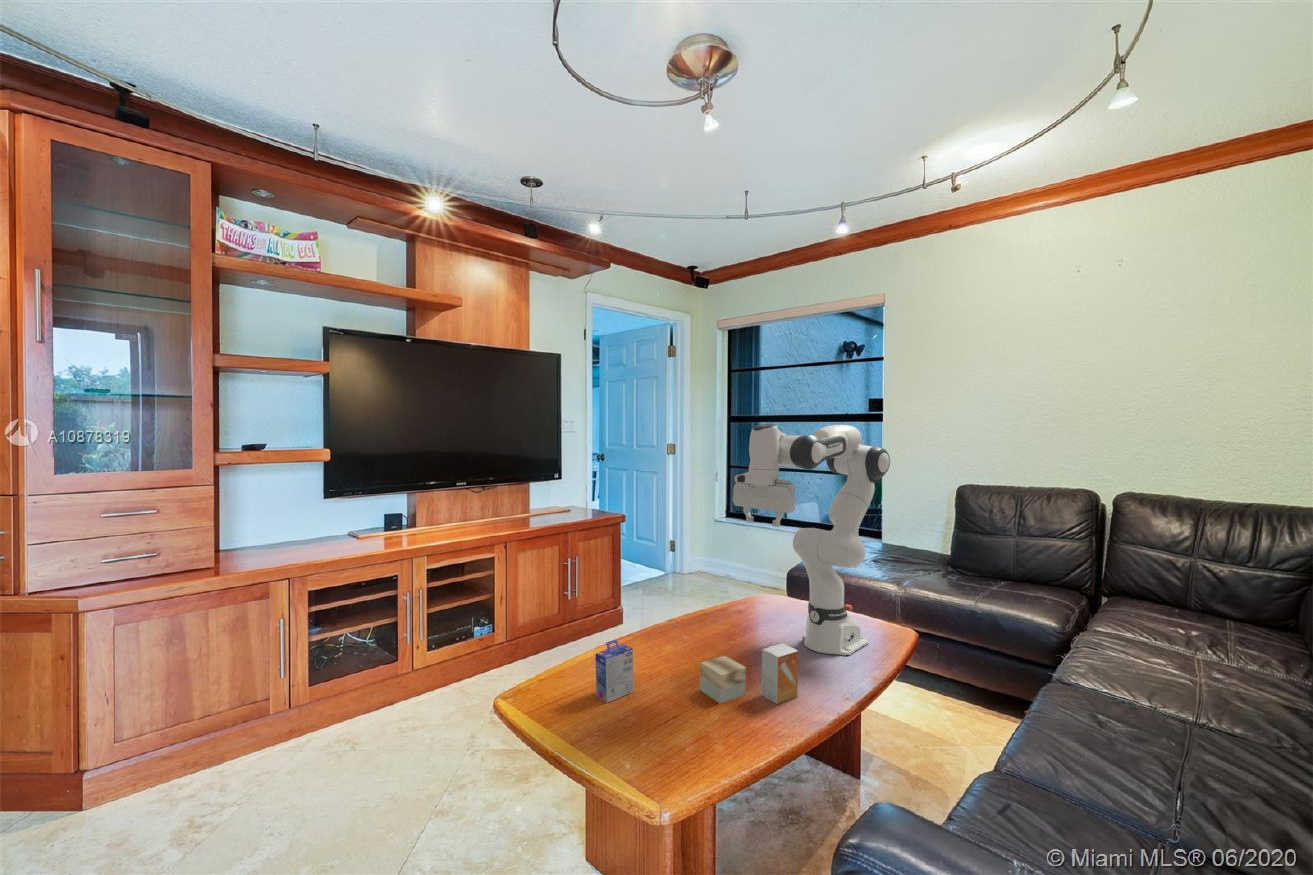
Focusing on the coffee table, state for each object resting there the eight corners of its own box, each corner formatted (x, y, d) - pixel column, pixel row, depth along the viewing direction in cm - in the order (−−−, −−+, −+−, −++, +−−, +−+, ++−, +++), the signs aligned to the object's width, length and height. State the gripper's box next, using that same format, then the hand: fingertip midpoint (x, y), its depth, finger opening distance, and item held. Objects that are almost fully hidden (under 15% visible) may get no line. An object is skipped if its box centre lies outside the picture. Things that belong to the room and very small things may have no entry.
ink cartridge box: (622, 684, 157) (622, 634, 157) (635, 692, 153) (635, 640, 152) (594, 696, 150) (594, 644, 150) (606, 704, 146) (606, 650, 146)
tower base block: (724, 682, 159) (724, 669, 159) (745, 696, 152) (745, 681, 152) (699, 691, 154) (699, 677, 154) (720, 705, 147) (720, 690, 147)
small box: (777, 705, 146) (778, 657, 146) (760, 695, 152) (761, 648, 151) (798, 697, 151) (799, 650, 150) (781, 687, 156) (781, 642, 156)
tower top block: (724, 669, 159) (724, 655, 159) (745, 681, 152) (746, 667, 152) (700, 676, 154) (700, 662, 154) (720, 690, 147) (721, 675, 147)
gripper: (800, 480, 159) (799, 527, 159) (742, 475, 173) (741, 518, 174) (788, 482, 154) (787, 530, 155) (730, 476, 169) (729, 520, 169)
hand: (762, 524), depth 164 cm, fingers open, 8 cm apart
